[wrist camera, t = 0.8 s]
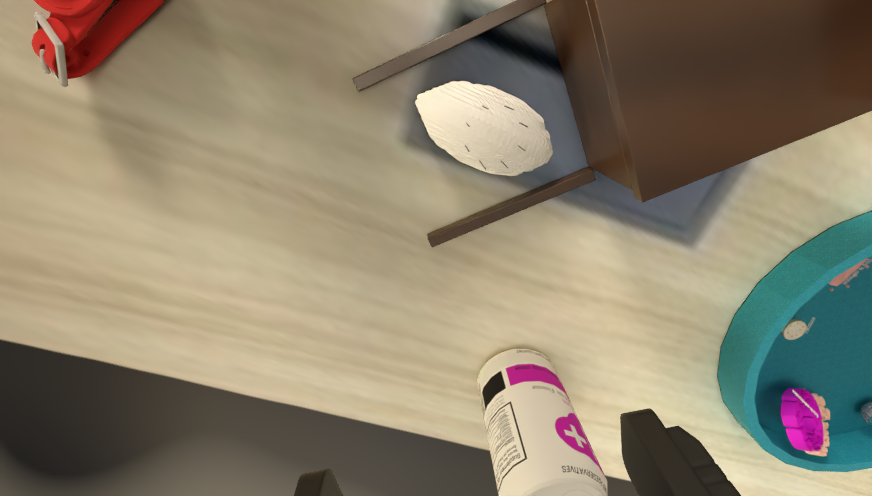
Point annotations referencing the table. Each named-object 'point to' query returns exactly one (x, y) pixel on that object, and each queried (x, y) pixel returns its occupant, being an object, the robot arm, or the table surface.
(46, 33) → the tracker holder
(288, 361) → the table surface
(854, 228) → the round teal tray
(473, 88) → the pincushion
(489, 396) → the supplement can
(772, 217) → the table surface
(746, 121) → the box with long handles
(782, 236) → the table surface
